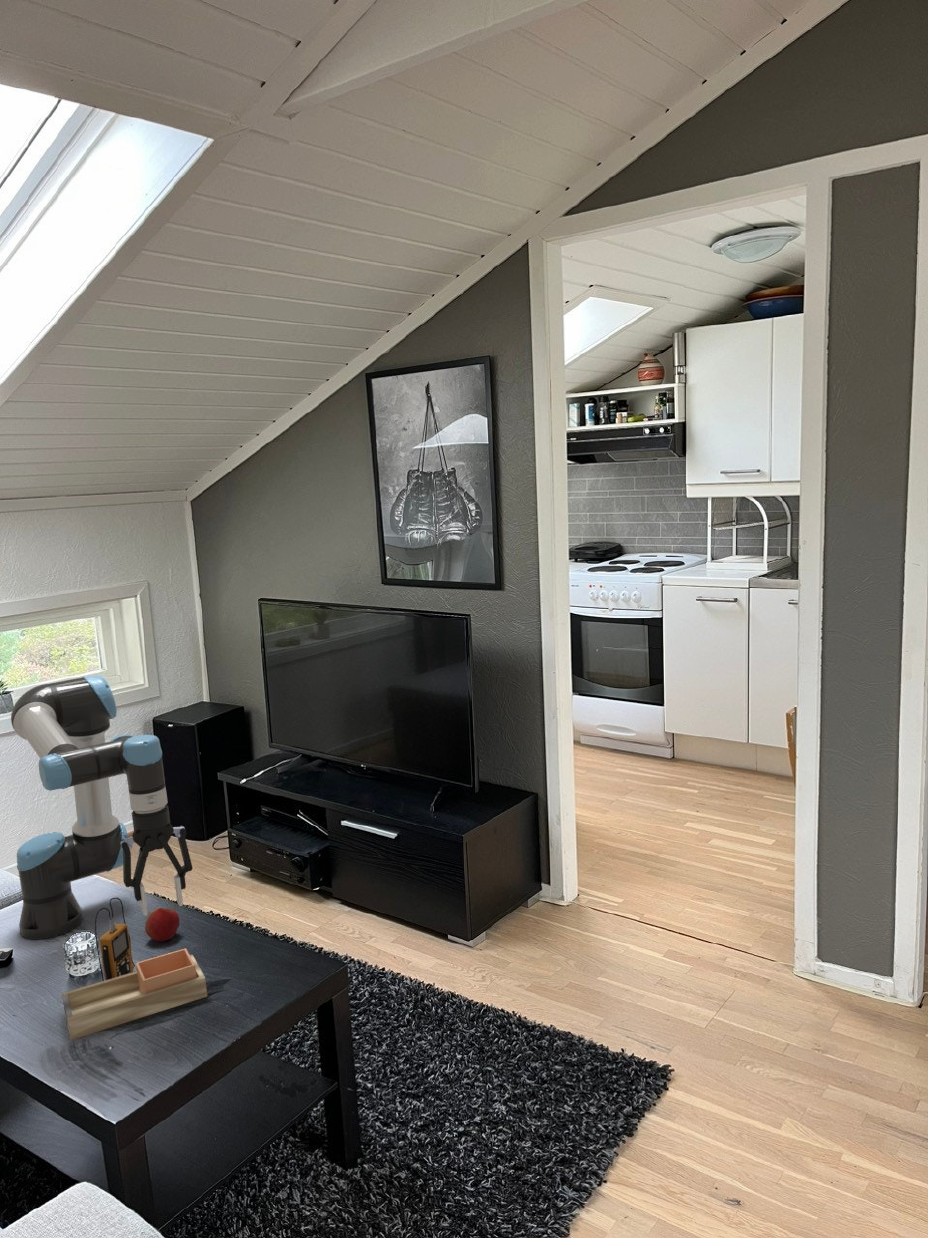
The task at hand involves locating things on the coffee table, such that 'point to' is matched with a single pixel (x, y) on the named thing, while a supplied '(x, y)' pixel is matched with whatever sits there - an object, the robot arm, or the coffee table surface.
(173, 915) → the apple
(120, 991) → the bay
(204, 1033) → the coffee table surface
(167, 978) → the box
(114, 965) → the multimeter
